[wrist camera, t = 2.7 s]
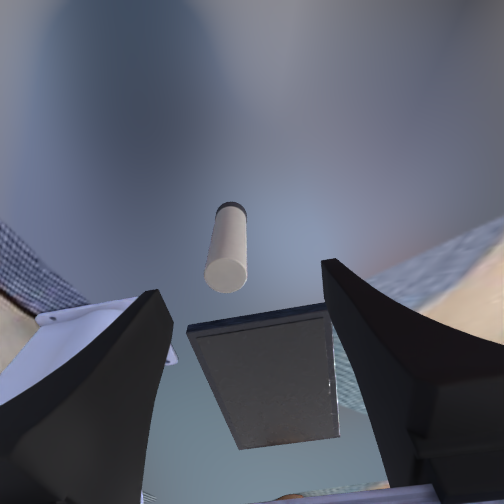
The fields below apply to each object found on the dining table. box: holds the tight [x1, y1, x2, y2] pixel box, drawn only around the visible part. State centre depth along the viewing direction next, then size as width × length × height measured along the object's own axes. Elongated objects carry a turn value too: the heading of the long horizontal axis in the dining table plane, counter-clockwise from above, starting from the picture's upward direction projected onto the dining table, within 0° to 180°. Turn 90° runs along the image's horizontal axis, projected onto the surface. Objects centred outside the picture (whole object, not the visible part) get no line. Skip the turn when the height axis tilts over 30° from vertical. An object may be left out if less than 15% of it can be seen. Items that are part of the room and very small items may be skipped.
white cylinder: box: [204, 202, 247, 293], centre depth 16 cm, size 2×2×7 cm
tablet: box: [186, 302, 340, 450], centre depth 28 cm, size 12×20×1 cm, turn 11°
